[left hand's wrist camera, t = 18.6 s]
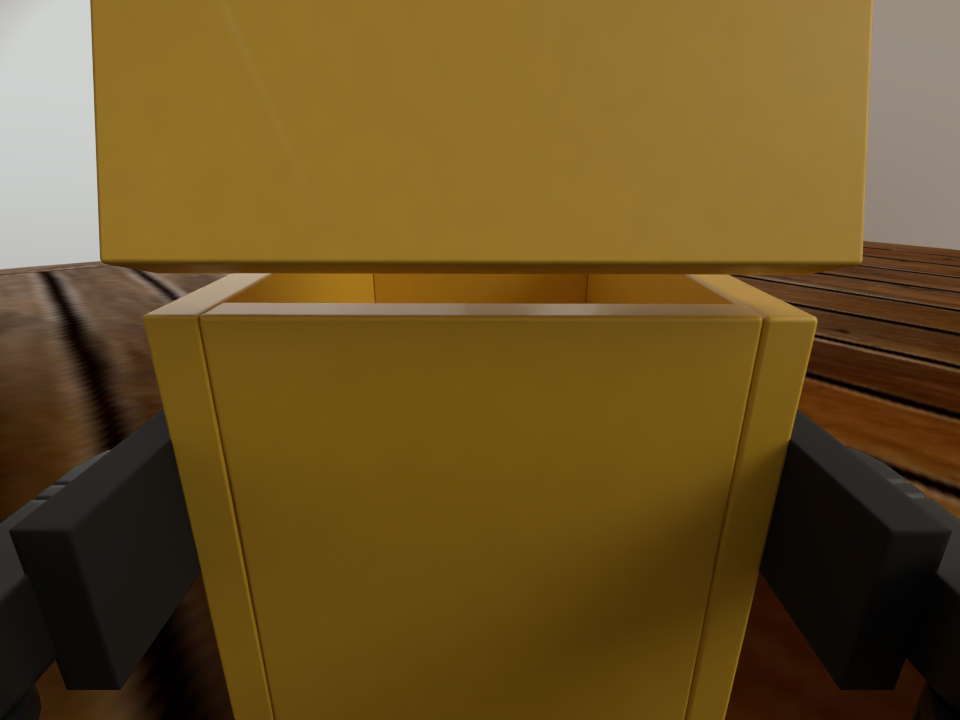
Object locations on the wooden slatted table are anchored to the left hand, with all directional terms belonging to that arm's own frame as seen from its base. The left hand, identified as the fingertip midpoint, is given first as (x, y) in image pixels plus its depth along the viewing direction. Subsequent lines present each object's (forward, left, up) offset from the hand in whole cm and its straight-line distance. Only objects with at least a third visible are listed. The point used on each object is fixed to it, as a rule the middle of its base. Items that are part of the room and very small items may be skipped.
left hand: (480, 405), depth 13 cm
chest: (-2, +2, -6) cm, 7 cm away
